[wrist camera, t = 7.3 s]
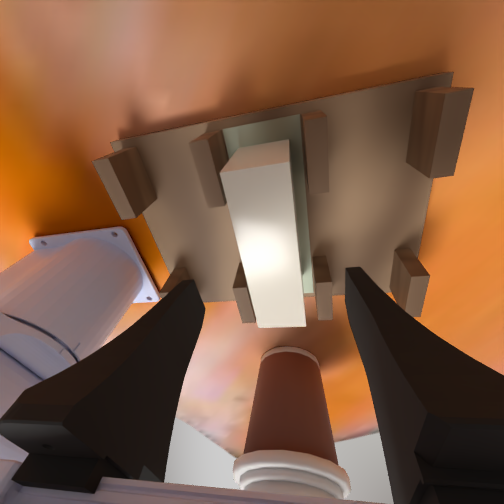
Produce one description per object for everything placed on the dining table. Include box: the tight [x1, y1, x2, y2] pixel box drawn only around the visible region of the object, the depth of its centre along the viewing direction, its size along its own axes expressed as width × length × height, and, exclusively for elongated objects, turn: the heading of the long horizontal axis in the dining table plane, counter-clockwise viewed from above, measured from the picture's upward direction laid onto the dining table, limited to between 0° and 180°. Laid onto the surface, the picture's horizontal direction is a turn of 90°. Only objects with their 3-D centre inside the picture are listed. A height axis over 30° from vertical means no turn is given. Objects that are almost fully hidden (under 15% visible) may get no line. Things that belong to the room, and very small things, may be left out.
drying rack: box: [92, 72, 474, 323], centre depth 17 cm, size 19×14×4 cm
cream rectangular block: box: [220, 139, 306, 328], centre depth 15 cm, size 3×10×5 cm, turn 10°
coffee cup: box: [233, 346, 351, 500], centre depth 23 cm, size 9×9×12 cm
